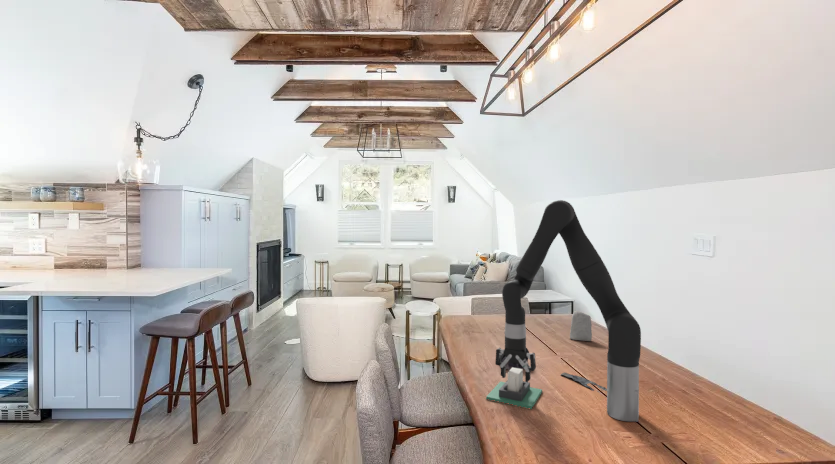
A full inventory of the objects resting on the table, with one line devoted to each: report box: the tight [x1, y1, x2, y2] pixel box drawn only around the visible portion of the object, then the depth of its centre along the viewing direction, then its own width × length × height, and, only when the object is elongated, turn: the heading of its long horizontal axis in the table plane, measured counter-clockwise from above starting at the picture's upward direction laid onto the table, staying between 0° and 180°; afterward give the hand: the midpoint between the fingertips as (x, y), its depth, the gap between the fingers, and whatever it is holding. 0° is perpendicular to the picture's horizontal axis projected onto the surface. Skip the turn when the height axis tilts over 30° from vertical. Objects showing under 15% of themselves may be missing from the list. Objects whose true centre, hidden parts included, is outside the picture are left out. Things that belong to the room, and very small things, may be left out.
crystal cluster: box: [501, 347, 530, 371], centre depth 180 cm, size 13×14×10 cm
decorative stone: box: [569, 310, 593, 342], centre depth 219 cm, size 11×6×15 cm, turn 58°
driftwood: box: [560, 372, 607, 394], centre depth 161 cm, size 21×7×2 cm, turn 22°
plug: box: [507, 367, 524, 392], centre depth 149 cm, size 4×7×8 cm, turn 152°
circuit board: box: [485, 379, 543, 410], centre depth 149 cm, size 16×16×4 cm
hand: (515, 379), depth 149 cm, fingers open, 8 cm apart
